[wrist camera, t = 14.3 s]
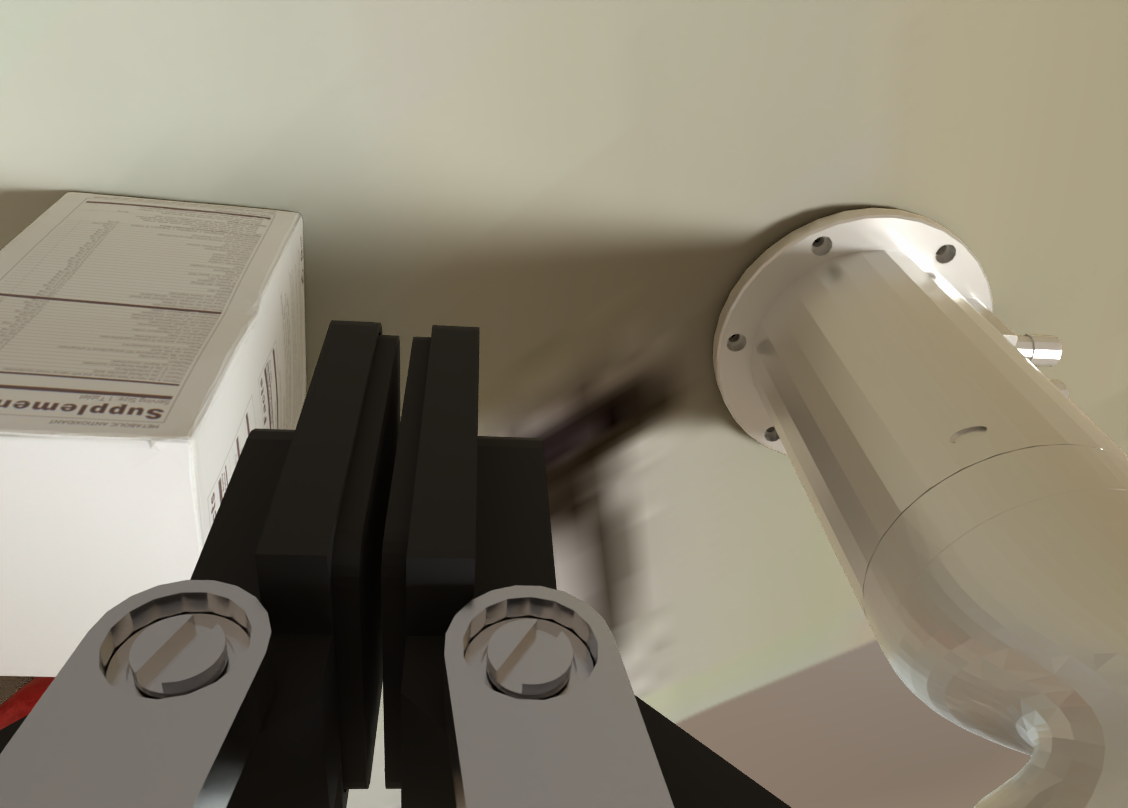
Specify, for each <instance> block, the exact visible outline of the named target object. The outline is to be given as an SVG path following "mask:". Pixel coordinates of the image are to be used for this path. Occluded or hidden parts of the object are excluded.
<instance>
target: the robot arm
mask: <svg viewBox="0 0 1128 808" xmlns="http://www.w3.org/2000/svg"><path fill="white" fill-rule="evenodd" d="M818 237H821V238H820V240H819V241H818V242H817V243H813V242H814V240H816V239H817V238H818ZM940 247H941V248H940ZM939 248H940V249H939ZM938 249H939V250H938ZM735 334H736V336H734V337H732V338H730V337H731V336H732V335H735ZM1061 352H1062V348H1061V342H1060V341H1059V339H1058V337H1055V336H1050V335H1031V334H1026V335H1024V336H1022V335H1015V334H1014V333H1013V332H1012V331H1011V330H1010V329H1009V328H1008V327H1007V326H1006V325H1005V324H1004V323H1003V322H1002V321H1000V320H999V319H998V318H997V317H996V316H995V315H994V314H993V299H992V295H991V290H990V285H989V281H988V278H987V276H986V274H985V272H984V270H983V268H982V266H981V264H980V262H979V260H978V259H977V258H976V256H975V255H974V254H973V253H972V252H971V251H970V249H969V248H968V247H967V246H966V245H965V244H964V243H963V242H962V241H961V240H960V239H959V238H957V237H956V236H955V235H954V234H953V233H951V232H950V231H949V230H948V229H947V228H945V227H943V226H941V225H939V224H938V223H936V222H934V221H932V220H930V219H928V218H927V217H925V216H921V215H918V214H914V213H910V212H907V211H903V210H899V209H884V208H866V209H858V210H849V211H843V212H840V213H837V214H833V215H830V216H827V217H823V218H820V219H817V220H815V221H813V222H811V223H809V224H807V225H805V226H803V227H800V228H798V229H796V230H794V231H792V232H790V233H789V234H788V235H786V236H785V237H783V238H782V239H781V240H779V241H778V242H776V243H775V244H774V245H772V246H771V247H769V248H768V249H767V250H766V251H765V252H764V253H763V254H762V255H761V256H760V257H759V258H758V259H757V260H756V261H755V262H754V263H753V264H752V265H751V266H750V267H749V268H748V269H747V270H746V271H745V272H744V274H743V275H742V277H741V278H740V279H739V281H738V282H737V284H736V285H735V286H734V288H733V289H732V291H731V292H730V294H729V297H728V299H727V301H726V303H725V305H724V307H723V309H722V311H721V313H720V316H719V320H718V324H717V328H716V332H715V336H714V345H713V365H714V371H715V377H716V382H717V385H718V387H719V390H720V392H721V395H722V398H723V401H724V403H725V404H726V406H727V408H728V410H729V411H730V413H731V415H732V417H733V418H734V420H735V421H736V422H737V423H738V424H739V425H740V426H741V427H742V428H743V430H744V431H745V432H746V433H747V434H748V435H749V436H751V437H752V438H753V439H755V440H756V441H758V442H759V443H760V444H762V445H764V446H765V447H767V448H770V449H772V450H775V451H777V452H779V453H782V454H784V455H787V456H789V458H790V461H791V463H792V465H793V467H794V469H795V471H796V473H797V475H798V477H799V479H800V481H801V483H802V485H803V487H804V489H805V492H806V494H807V496H808V498H809V500H810V502H811V504H812V506H813V508H814V510H815V512H816V514H817V516H818V518H819V520H820V523H821V525H822V527H823V529H824V531H825V533H826V535H827V537H828V539H829V541H830V543H831V545H832V547H833V549H834V552H835V554H836V556H837V558H838V560H839V562H840V564H841V566H842V568H843V570H844V572H845V574H846V576H847V578H848V580H849V583H850V585H851V587H852V589H853V591H854V593H855V595H856V597H857V599H858V601H859V603H860V605H861V607H862V609H863V611H864V614H865V616H866V618H867V620H868V622H869V624H870V627H871V629H872V631H873V633H874V635H875V637H876V639H877V641H878V643H879V645H880V647H881V649H882V651H883V653H884V654H885V656H886V658H887V659H888V661H889V663H890V664H891V666H892V668H893V669H894V671H895V672H896V674H897V675H898V676H899V677H900V679H901V680H902V681H903V682H904V683H905V685H906V686H907V687H908V688H909V689H910V690H911V691H912V692H913V693H914V694H915V695H916V696H917V697H918V698H920V699H921V700H922V701H923V702H924V703H925V704H927V706H929V707H930V708H931V709H932V710H934V711H935V712H937V713H938V714H940V715H941V716H943V717H944V718H946V719H948V720H949V721H951V722H953V723H955V724H956V725H958V726H960V727H962V728H963V729H965V730H967V731H970V732H972V733H974V734H977V735H979V736H981V737H983V738H985V739H988V740H990V741H992V742H995V743H997V744H1000V745H1002V746H1005V747H1008V748H1010V749H1013V750H1016V751H1019V752H1022V753H1025V754H1028V755H1030V756H1031V758H1030V760H1029V762H1028V763H1027V764H1026V765H1025V766H1024V767H1023V768H1022V769H1021V770H1020V771H1019V772H1018V773H1017V774H1016V775H1015V776H1013V777H1012V778H1011V779H1009V780H1008V781H1006V782H1005V783H1004V784H1002V785H1001V786H1000V787H998V788H997V789H996V790H994V791H993V792H991V793H990V794H989V795H987V796H985V797H984V798H982V799H981V800H980V801H979V803H978V804H977V805H976V806H975V807H973V808H1128V456H1127V455H1126V454H1125V453H1124V452H1123V451H1122V450H1121V449H1120V448H1119V447H1118V446H1117V445H1116V444H1115V443H1114V442H1113V441H1112V440H1111V439H1110V438H1109V437H1108V436H1107V435H1106V434H1105V433H1104V432H1103V431H1102V430H1100V429H1099V428H1098V427H1097V426H1096V425H1095V424H1094V423H1093V422H1092V421H1091V420H1090V419H1089V418H1088V417H1087V416H1086V415H1085V414H1084V413H1083V412H1082V411H1081V410H1080V409H1079V408H1078V407H1077V406H1076V405H1075V404H1074V403H1073V402H1072V401H1071V400H1069V393H1068V389H1067V388H1066V386H1065V384H1064V383H1063V382H1061V381H1059V380H1049V379H1048V378H1047V377H1046V376H1045V375H1044V374H1043V373H1042V372H1041V371H1040V370H1038V369H1037V368H1036V367H1035V366H1042V367H1052V366H1054V365H1056V364H1057V362H1058V361H1059V359H1060V356H1061ZM478 383H479V327H459V326H438V325H433V327H432V335H431V337H413V343H412V349H411V356H410V363H409V369H408V376H407V383H406V389H405V396H404V403H403V409H402V416H401V423H400V341H399V336H390V335H382V326H381V323H375V322H354V321H333V320H332V321H331V323H330V325H329V328H328V331H327V335H326V338H325V341H324V344H323V347H322V350H321V353H320V356H319V359H318V362H317V365H316V368H315V372H314V375H313V378H312V381H311V384H310V387H309V390H308V393H307V396H306V399H305V402H304V405H303V408H302V412H301V415H300V418H299V421H298V424H297V427H296V430H287V429H258V428H255V429H253V430H251V432H250V434H249V435H248V437H247V439H246V442H245V444H244V447H243V449H242V452H241V454H240V457H239V459H238V462H237V464H236V467H235V469H234V472H233V474H232V477H231V479H230V482H229V484H228V487H227V489H226V492H225V494H224V497H223V499H222V502H221V504H220V507H219V509H218V511H217V514H216V516H215V519H214V521H213V524H212V526H211V529H210V531H209V534H208V536H207V539H206V541H205V544H204V546H203V549H202V551H201V554H200V556H199V559H198V561H197V564H196V566H195V569H194V571H193V574H192V576H191V579H190V580H184V581H178V582H173V583H168V584H163V585H158V586H155V587H153V588H150V589H148V590H145V591H143V592H140V593H138V594H135V595H132V596H130V597H129V598H127V599H126V600H124V601H123V602H121V603H120V604H118V605H116V606H115V607H113V608H112V609H110V610H109V611H107V612H106V613H105V614H104V615H103V616H102V617H101V618H100V619H99V621H98V622H97V623H96V624H95V625H94V626H93V627H92V628H91V629H90V630H89V631H88V632H87V634H86V635H85V637H84V638H83V639H82V641H81V642H80V644H79V645H78V646H77V648H76V649H75V651H74V652H73V653H72V655H71V656H70V657H69V659H68V660H67V662H66V663H65V664H64V666H63V667H62V669H61V670H60V671H59V673H58V674H57V676H56V677H55V678H54V680H53V681H52V683H51V684H50V685H49V687H48V688H47V690H46V691H45V692H44V694H43V695H42V697H41V698H40V699H39V701H38V702H37V703H36V705H35V706H34V708H33V709H32V710H31V712H30V713H29V714H28V715H27V716H25V717H23V718H21V719H19V720H17V721H16V722H14V723H12V724H10V725H8V726H7V727H5V728H3V729H1V730H0V808H346V805H347V799H348V792H349V789H368V788H369V784H370V778H371V771H372V763H373V755H374V747H375V739H376V731H377V723H378V715H379V707H380V699H381V691H382V683H383V703H384V748H385V786H386V789H401V808H791V807H790V806H788V805H787V804H785V803H784V802H783V801H781V800H780V799H778V798H777V797H776V796H774V795H773V794H772V793H770V792H769V791H767V790H766V789H765V788H763V787H762V786H760V785H759V784H758V783H756V782H755V781H754V780H752V779H750V778H749V777H748V776H747V775H745V774H744V773H742V772H741V771H739V770H738V769H737V768H735V767H734V766H733V765H731V764H730V763H728V762H727V761H726V760H724V759H723V758H722V757H720V756H719V755H717V754H716V753H715V752H713V751H712V750H710V749H709V748H708V747H706V746H705V745H703V744H702V743H701V742H699V741H698V740H696V739H695V738H694V737H692V736H691V735H690V734H688V733H686V732H685V731H684V730H683V729H681V728H680V727H678V726H677V725H676V724H674V723H673V722H671V721H670V720H669V719H667V718H666V717H664V716H663V715H662V714H660V713H659V712H658V711H656V710H655V709H653V708H652V707H651V706H649V705H648V704H646V703H645V702H644V701H642V700H641V699H639V698H638V697H637V696H635V695H634V692H633V690H632V687H631V684H630V681H629V678H628V676H627V673H626V670H625V667H624V664H623V661H622V659H621V656H620V653H619V650H618V647H617V645H616V642H615V639H614V636H613V635H612V633H611V631H610V629H609V628H608V626H607V624H606V622H605V621H604V619H603V618H602V617H601V616H600V615H599V614H598V613H597V612H596V611H595V610H594V609H592V608H591V607H590V606H589V605H588V604H587V603H586V602H584V601H582V600H580V599H578V598H576V597H574V596H572V595H570V594H568V593H566V592H563V591H559V590H557V589H556V578H555V567H554V556H553V545H552V534H551V523H550V512H549V501H548V490H547V479H546V468H545V457H544V447H543V440H542V439H541V438H517V437H489V436H478Z"/></svg>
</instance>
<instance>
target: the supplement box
mask: <svg viewBox="0 0 1128 808" xmlns="http://www.w3.org/2000/svg"><path fill="white" fill-rule="evenodd" d="M305 397H306V343H305V299H304V255H303V218H302V216H301V215H300V214H299V213H296V212H288V211H279V210H269V209H258V208H248V207H237V206H226V205H214V204H202V203H190V202H179V201H168V200H156V199H145V198H134V197H123V196H112V195H101V194H90V193H78V192H68V193H66V194H65V195H64V196H62V197H61V198H60V199H59V200H58V201H57V202H56V203H54V204H53V205H52V206H51V207H50V208H49V209H47V210H46V211H45V212H44V213H43V214H42V215H40V216H39V217H38V218H37V219H36V220H35V221H34V222H32V223H31V224H30V225H29V226H28V227H26V228H25V229H24V230H23V231H22V232H21V233H19V234H18V235H17V236H16V237H15V238H14V239H13V240H12V241H11V242H9V243H8V244H7V245H6V246H5V247H4V248H3V249H1V250H0V676H35V677H56V676H57V674H58V673H59V671H60V670H61V669H62V667H63V666H64V664H65V663H66V662H67V660H68V659H69V657H70V656H71V655H72V653H73V652H74V651H75V649H76V648H77V646H78V645H79V644H80V642H81V641H82V639H83V638H84V637H85V635H86V634H87V632H88V631H89V630H90V629H91V628H92V627H93V626H94V625H95V624H96V623H97V622H98V621H99V619H100V618H101V617H102V616H103V615H104V614H105V613H106V612H107V611H109V610H110V609H112V608H113V607H115V606H116V605H118V604H120V603H121V602H123V601H124V600H126V599H127V598H129V597H130V596H132V595H135V594H138V593H140V592H143V591H145V590H148V589H150V588H153V587H155V586H158V585H163V584H168V583H173V582H178V581H184V580H190V579H191V576H192V574H193V571H194V569H195V566H196V564H197V561H198V559H199V556H200V554H201V551H202V549H203V546H204V544H205V541H206V539H207V536H208V534H209V531H210V529H211V526H212V524H213V521H214V519H215V516H216V514H217V511H218V509H219V507H220V504H221V502H222V499H223V497H224V494H225V492H226V489H227V487H228V484H229V482H230V479H231V477H232V474H233V472H234V469H235V467H236V464H237V462H238V459H239V457H240V454H241V452H242V449H243V447H244V444H245V442H246V439H247V437H248V435H249V434H250V432H251V430H253V429H255V428H258V429H287V430H295V428H296V425H297V422H298V419H299V415H300V412H301V409H302V406H303V402H304V400H305Z"/></svg>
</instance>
